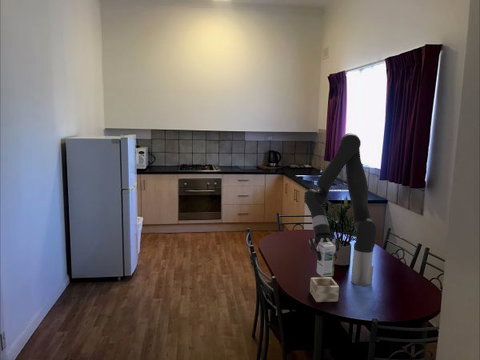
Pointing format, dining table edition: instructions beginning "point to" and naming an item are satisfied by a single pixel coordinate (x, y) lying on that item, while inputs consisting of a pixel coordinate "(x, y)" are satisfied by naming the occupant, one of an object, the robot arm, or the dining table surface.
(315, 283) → the holder
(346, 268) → the dining table surface
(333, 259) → the syrup box
